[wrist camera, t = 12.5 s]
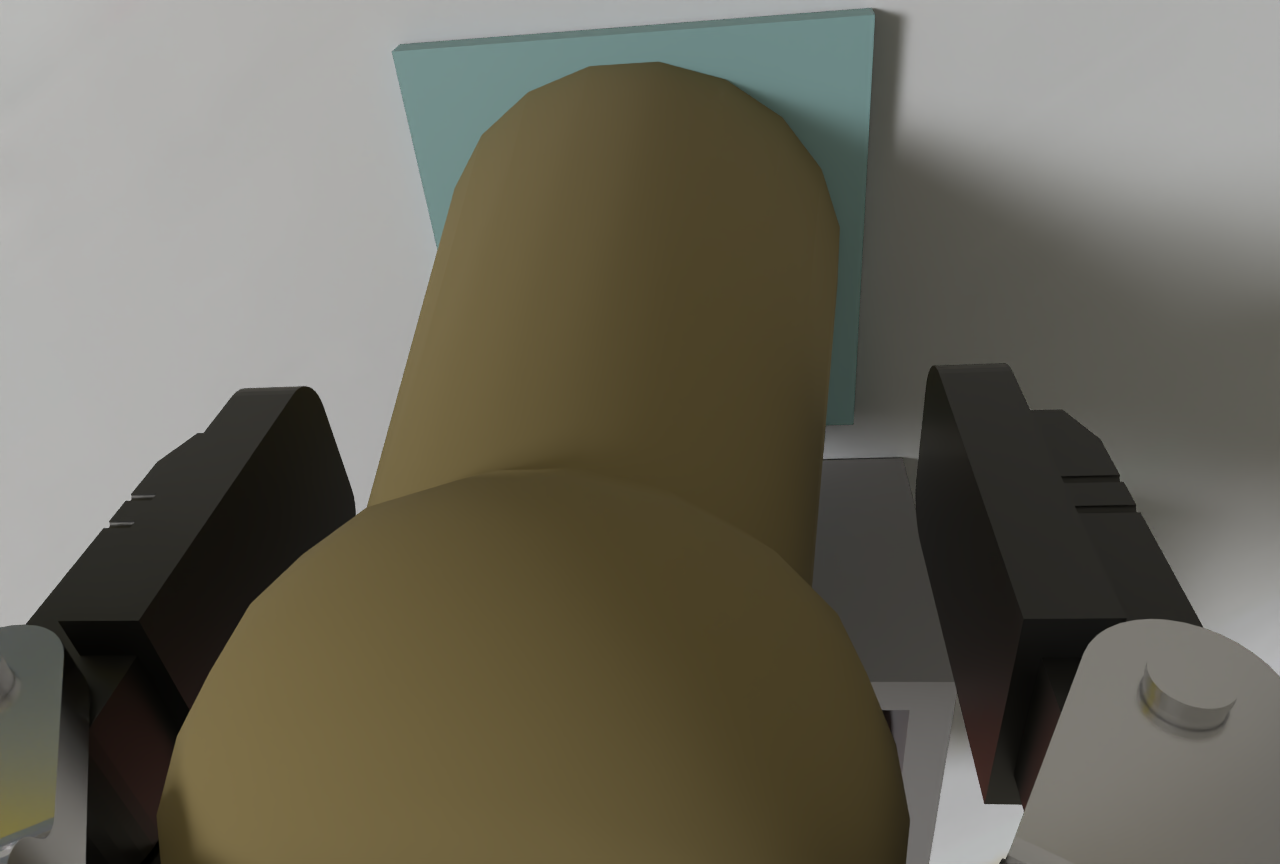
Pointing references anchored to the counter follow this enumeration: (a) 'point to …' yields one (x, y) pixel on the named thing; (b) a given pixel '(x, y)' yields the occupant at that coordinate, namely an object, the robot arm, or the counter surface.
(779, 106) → the tile
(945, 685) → the housing
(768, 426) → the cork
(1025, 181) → the counter surface
